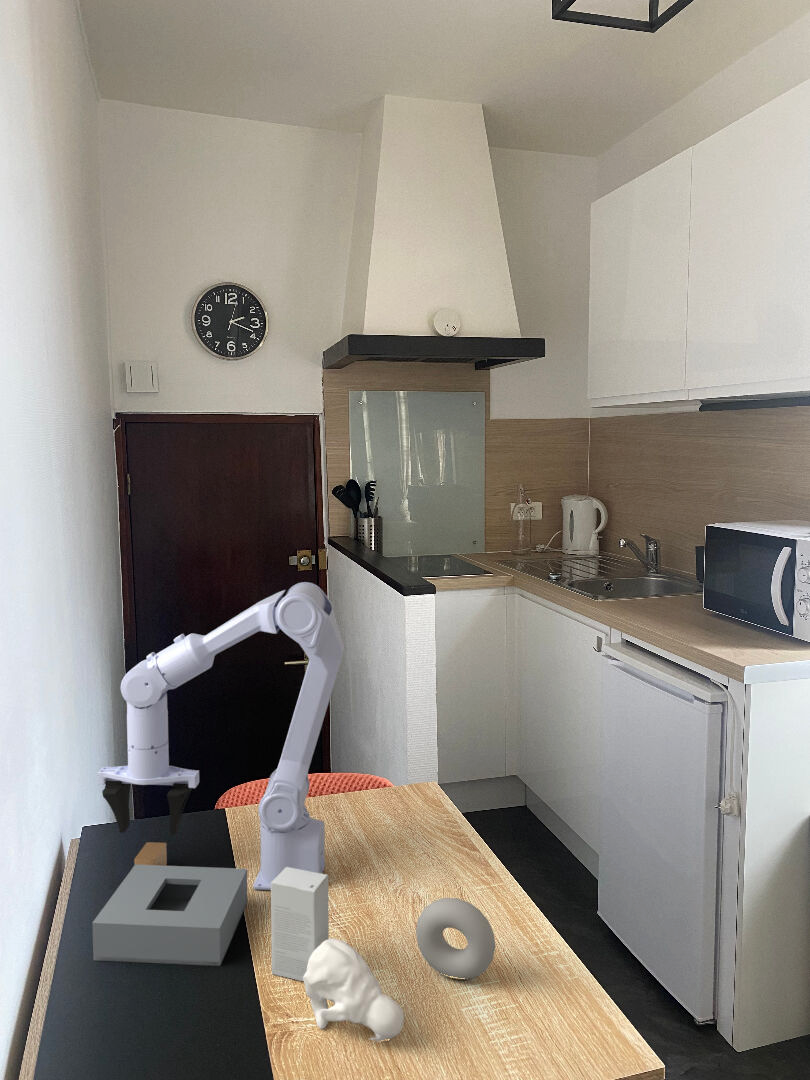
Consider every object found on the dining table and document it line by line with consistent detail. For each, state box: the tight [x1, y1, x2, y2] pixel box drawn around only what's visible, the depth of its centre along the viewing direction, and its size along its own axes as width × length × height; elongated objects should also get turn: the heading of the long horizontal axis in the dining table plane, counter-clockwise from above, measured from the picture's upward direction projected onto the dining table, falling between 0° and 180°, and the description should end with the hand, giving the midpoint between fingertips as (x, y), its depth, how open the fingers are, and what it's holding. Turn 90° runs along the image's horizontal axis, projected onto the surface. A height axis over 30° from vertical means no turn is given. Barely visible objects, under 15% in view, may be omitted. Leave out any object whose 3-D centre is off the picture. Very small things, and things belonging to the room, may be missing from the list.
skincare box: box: [270, 867, 330, 982], centre depth 99 cm, size 6×4×12 cm
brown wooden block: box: [133, 841, 168, 866], centre depth 120 cm, size 3×5×4 cm, turn 177°
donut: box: [415, 897, 497, 980], centre depth 98 cm, size 10×3×10 cm, turn 69°
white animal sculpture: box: [302, 937, 405, 1042], centre depth 89 cm, size 6×8×12 cm
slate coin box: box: [91, 863, 248, 967], centre depth 107 cm, size 16×14×5 cm
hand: (149, 830), depth 119 cm, fingers open, 7 cm apart
